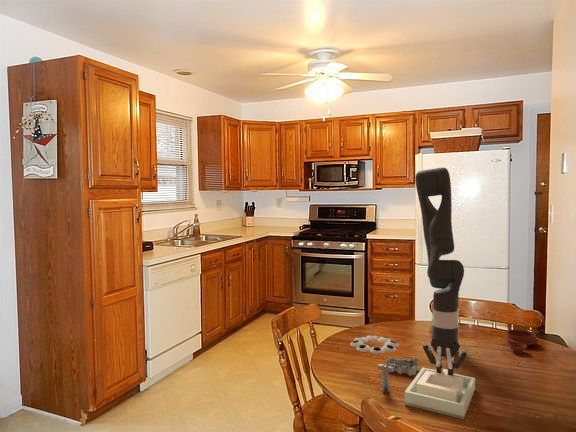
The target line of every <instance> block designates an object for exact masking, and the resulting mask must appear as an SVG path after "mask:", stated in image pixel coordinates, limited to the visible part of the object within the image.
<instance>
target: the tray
mask: <svg viewBox="0 0 576 432" xmlns="http://www.w3.org/2000/svg"><path fill="white" fill-rule="evenodd" d="M425 371H431V372H437V371H436V369H431V368H426V367H421V369H420V371H418V373H417V374H416V376H415V377H414V379H413V380H412V381H411V382H410V384H409V385H408V387H407V388H406V389H405V391H404V405H405V406H408V407H409V406H410V407H412V408H413V407H414V408H417V409H422V410H426V411H429V412H433V413H437V414H442V415H445V416H449V417H453V418H456V419H461V420H464V419H465V416H466V414H467V411H468V409H469V406H470V403H471V401H472V398H473V397H474V393H475V391H476V377H472V376H466V375H462V374H458V373H454V376H456V377H461V378H463V392H462V394H461V396H460V399H459V401H458V402H454V401H450V400H445V399H441V398H437V397H432V396H428V395H424V394H419V393H416V392H417V382H418V381H419V379H420V378H421V377H422V375H423V374H424V373H425Z"/></svg>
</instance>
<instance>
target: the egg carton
mask: <svg viewBox="0 0 576 432" xmlns="http://www.w3.org/2000/svg"><path fill="white" fill-rule="evenodd" d="M418 362H419V358H416V357H409V359H407V358H393V357H387V359H385V365H388V366H392V367H394V371H393V372H396V373H398V374H399V375H401V374H407V375H408V376H415V375H416V376H417V372H419V364H418Z"/></svg>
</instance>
